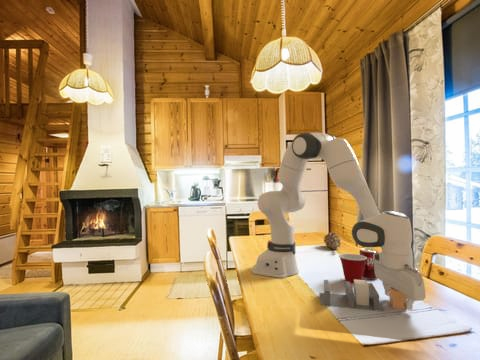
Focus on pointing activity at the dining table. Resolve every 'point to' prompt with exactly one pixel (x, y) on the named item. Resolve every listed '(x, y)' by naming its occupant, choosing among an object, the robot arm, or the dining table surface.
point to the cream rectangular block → (361, 292)
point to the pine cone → (332, 240)
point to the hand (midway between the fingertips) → (398, 301)
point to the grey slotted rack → (350, 298)
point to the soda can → (368, 263)
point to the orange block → (397, 298)
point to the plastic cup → (352, 266)
